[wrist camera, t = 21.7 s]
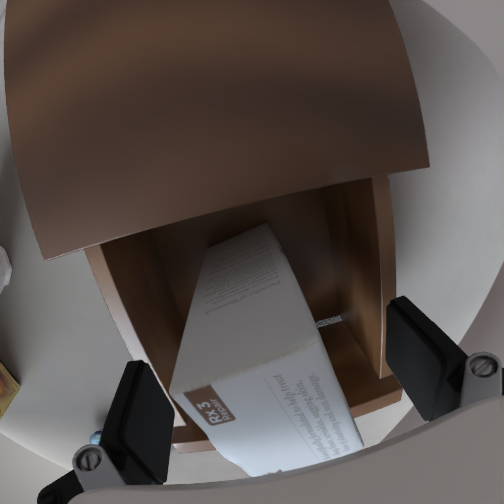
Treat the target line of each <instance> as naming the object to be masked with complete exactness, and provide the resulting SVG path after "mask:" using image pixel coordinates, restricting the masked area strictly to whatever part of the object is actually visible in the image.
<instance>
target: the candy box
mask: <svg viewBox="0 0 504 504" xmlns="http://www.w3.org/2000/svg"><path fill="white" fill-rule="evenodd" d="M19 390H20V385H19V384H18V383H17V382H16V381H15V380H14V378H13V377H12V376H11V375H10V374H9V372H8V371H7V370H6V368H5V367H4V366H3V364H2V363H1V362H0V419H1V418H2V416H3V414H4V413H5V411H6V410H7V408H8V406H9V405H10V403H11V402H12V400H13V399H14V397H15V396H16V394H17V392H18V391H19Z"/></svg>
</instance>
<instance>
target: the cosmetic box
mask: <svg viewBox="0 0 504 504" xmlns="http://www.w3.org/2000/svg"><path fill="white" fill-rule="evenodd" d="M169 393H170V395H171V396H172V398H173V399H174V400H175V401H176V402H177V403H178V404H179V405H180V406H181V407H182V408H183V410H184V411H185V412H186V413H187V414H188V415H189V416H190V417H191V418H192V419H193V421H194V422H195V423H196V424H197V425H198V426H199V427H200V428H201V429H202V430H203V431H204V432H205V433H206V435H207V436H208V438H209V440H210V442H211V443H212V445H213V446H214V447H215V448H216V450H217V451H218V452H219V453H220V454H221V455H222V456H224V457H225V458H226V459H228V460H229V461H231V462H233V463H235V464H237V465H238V466H240V467H241V468H242V469H243V470H244V471H245V472H246V473H248V474H249V475H250V476H251V477H257V476H263V475H268V474H274V473H279V472H284V471H289V470H293V469H297V468H302V467H306V466H310V465H314V464H317V463H321V462H325V461H328V460H332V459H335V458H338V457H342V456H345V455H348V454H351V453H354V452H356V451H358V450H360V449H362V448H363V447H364V443H363V440H362V438H361V435H360V433H359V431H358V428H357V426H356V423H355V421H354V418H353V416H352V413H351V411H350V408H349V406H348V403H347V401H346V398H345V396H344V394H343V391H342V389H341V387H340V384H339V382H338V380H337V377H336V375H335V373H334V370H333V367H332V365H331V362H330V360H329V357H328V354H327V352H326V349H325V346H324V344H323V341H322V339H321V336H320V334H319V331H318V329H317V326H316V324H315V321H314V319H313V316H312V314H311V312H310V309H309V307H308V305H307V302H306V300H305V298H304V295H303V293H302V291H301V289H300V286H299V284H298V282H297V280H296V278H295V275H294V273H293V271H292V269H291V267H290V264H289V262H288V260H287V258H286V256H285V254H284V252H283V249H282V247H281V245H280V243H279V241H278V239H277V237H276V235H275V233H274V231H273V229H272V227H271V225H270V223H269V222H266V223H264V224H262V225H260V226H257V227H255V228H252V229H250V230H248V231H246V232H244V233H241V234H239V235H237V236H235V237H232V238H230V239H228V240H226V241H224V242H222V243H219V244H217V245H215V246H212V247H210V248H208V249H207V250H206V253H205V256H204V260H203V264H202V267H201V271H200V274H199V278H198V281H197V285H196V288H195V292H194V296H193V299H192V303H191V307H190V310H189V314H188V318H187V322H186V326H185V329H184V333H183V337H182V341H181V345H180V349H179V353H178V357H177V361H176V365H175V369H174V372H173V376H172V381H171V384H170V388H169Z"/></svg>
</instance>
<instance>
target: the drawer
mask: <svg viewBox="0 0 504 504" xmlns="http://www.w3.org/2000/svg"><path fill="white" fill-rule="evenodd" d="M266 222H269V223H270V225H271V227H272V229H273V231H274V233H275V235H276V237H277V239H278V241H279V243H280V245H281V247H282V249H283V252H284V254H285V256H286V258H287V260H288V262H289V264H290V267H291V269H292V271H293V273H294V275H295V278H296V280H297V282H298V284H299V286H300V289H301V291H302V293H303V295H304V298H305V300H306V302H307V305H308V307H309V309H310V312H311V314H312V316H313V319H314V321H315V322H316V321H319V320H323V319H327V318H330V317H333V316H337V315H340V317H341V318H342V320H343V321H339V322H336V323H333V324H329V325H326V326H322V327H319V328H317V329H318V331H319V334H320V336H321V339H322V341H323V344H324V346H325V349H326V352H327V354H328V357H329V360H330V362H331V365H332V367H333V370H334V373H335V375H336V377H337V380H338V382H339V384H340V387H341V389H342V391H343V394H344V396H345V398H346V401H347V403H348V406H349V408H350V411H351V413H352V416H353V418H356V417H359V416H362V415H365V414H368V413H370V412H373V411H376V410H378V409H381V408H383V407H386V406H388V405H391V404H393V403H396V402H398V401H400V400H401V397H402V390H403V388H402V386H401V385H400V383H399V382H398V380H397V379H396V377H395V376H394V374H393V372H392V371H391V369H390V368H389V366H388V365H387V363H386V359H385V349H386V307H387V305H389V304H390V300H392V299H395V298H396V259H395V239H394V225H393V213H392V202H391V193H390V185H389V177H388V174H387V175H382V176H376V177H371V178H366V179H360V180H355V181H350V182H345V183H340V184H335V185H330V186H325V187H320V188H316V189H311V190H306V191H302V192H297V193H293V194H288V195H284V196H279V197H275V198H270V199H266V200H262V201H258V202H253V203H249V204H245V205H241V206H237V207H233V208H229V209H225V210H221V211H217V212H213V213H209V214H205V215H201V216H197V217H193V218H190V219H186V220H182V221H178V222H175V223H171V224H167V225H164V226H160V227H156V228H153V229H149V230H146V231H142V232H139V233H135V234H132V235H128V236H125V237H122V238H118V239H115V240H112V241H108V242H105V243H102V244H98V245H95V246H92V247H89V248H86V249H84V250H85V253H86V256H87V258H88V261H89V264H90V266H91V269H92V271H93V274H94V276H95V279H96V281H97V284H98V286H99V288H100V291H101V293H102V296H103V298H104V300H105V302H106V305H107V307H108V309H109V311H110V313H111V316H112V318H113V320H114V322H115V324H116V326H117V328H118V330H119V332H120V334H121V336H122V338H123V340H124V342H125V344H126V346H127V348H128V350H129V352H130V354H131V356H132V358H133V360H134V361H135V360H143V361H144V362H145V363H148V364H149V365H150V367H151V369H152V371H153V372H154V374H155V376H156V378H157V380H158V382H159V383H160V385H161V387H162V389H163V390H164V392H165V394H166V396H167V397H168V399H169V401H170V403H171V404H172V406H173V408H174V411H175V419H174V428H173V436H172V445H173V446H174V447H175V449H176V450H177V451H178V453H192V452H202V451H211V450H216V448H215V447H214V446H213V445H212V443H211V442H210V440H209V438H208V436H207V435H206V433H205V432H204V431H203V430H202V429H201V428H200V427H199V426H198V425H197V424H196V423H195V422H194V421H193V419H192V418H191V417H190V416H189V415H188V414H187V413H186V412H185V411H184V410H183V408H182V407H181V406H180V405H179V404H178V403H177V402H176V401H175V400H174V399H173V398H172V396H171V395H170V393H169V388H170V384H171V381H172V376H173V372H174V369H175V365H176V361H177V357H178V353H179V349H180V345H181V341H182V337H183V333H184V329H185V326H186V322H187V318H188V314H189V310H190V307H191V303H192V299H193V296H194V292H195V288H196V285H197V281H198V278H199V274H200V271H201V267H202V264H203V260H204V256H205V253H206V250H207V249H208V248H210V247H212V246H215V245H217V244H219V243H222V242H224V241H226V240H228V239H230V238H232V237H235V236H237V235H239V234H241V233H244V232H246V231H248V230H250V229H252V228H255V227H257V226H260V225H262V224H264V223H266Z"/></svg>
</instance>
